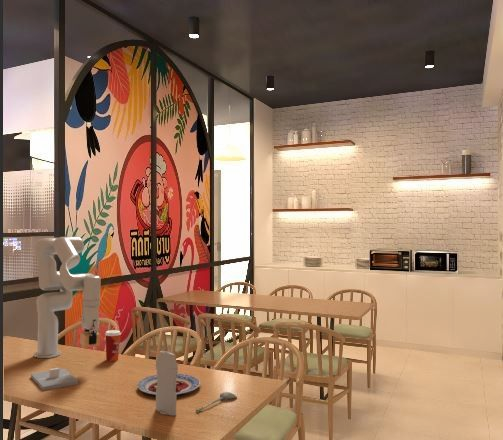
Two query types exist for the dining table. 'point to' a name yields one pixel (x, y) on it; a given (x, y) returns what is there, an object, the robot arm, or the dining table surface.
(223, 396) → the soupspoon
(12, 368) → the dining table surface
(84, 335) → the tan slotted block
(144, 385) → the ceramic plate
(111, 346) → the paper cup
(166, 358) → the tall pale column
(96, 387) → the dining table surface
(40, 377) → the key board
